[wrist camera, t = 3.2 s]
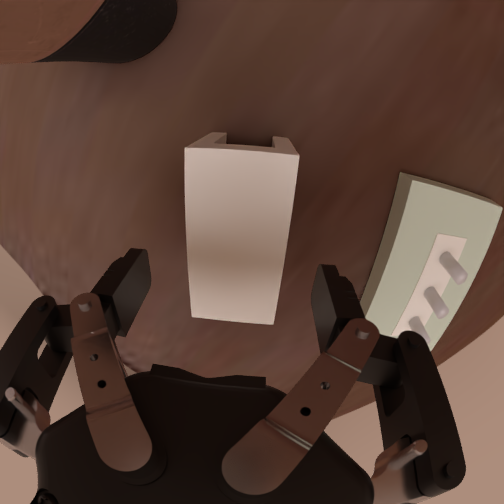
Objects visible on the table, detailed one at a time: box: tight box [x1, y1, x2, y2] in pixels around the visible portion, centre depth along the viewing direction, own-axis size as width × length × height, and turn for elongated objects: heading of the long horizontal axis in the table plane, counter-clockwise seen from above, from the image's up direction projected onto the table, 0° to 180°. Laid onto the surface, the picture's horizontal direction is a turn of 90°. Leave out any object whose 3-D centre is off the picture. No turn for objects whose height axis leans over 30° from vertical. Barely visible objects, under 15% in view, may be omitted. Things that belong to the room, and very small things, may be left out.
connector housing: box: [185, 132, 299, 325], centre depth 17 cm, size 10×5×6 cm, turn 176°
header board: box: [360, 172, 503, 352], centre depth 20 cm, size 18×11×5 cm, turn 176°
